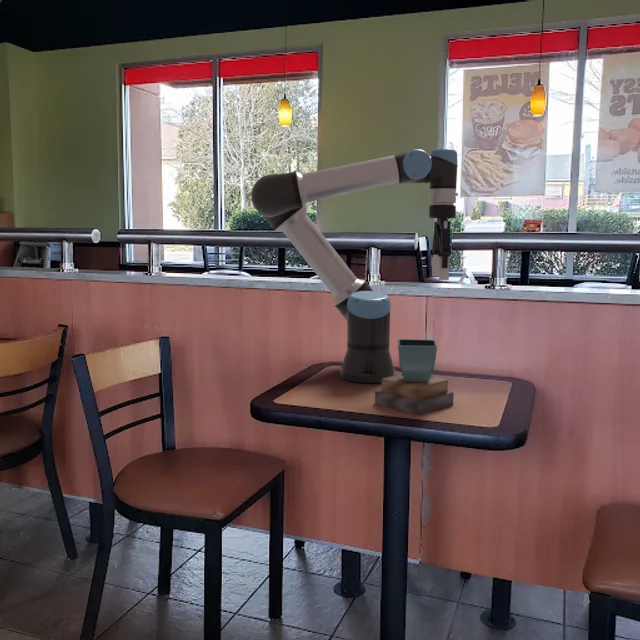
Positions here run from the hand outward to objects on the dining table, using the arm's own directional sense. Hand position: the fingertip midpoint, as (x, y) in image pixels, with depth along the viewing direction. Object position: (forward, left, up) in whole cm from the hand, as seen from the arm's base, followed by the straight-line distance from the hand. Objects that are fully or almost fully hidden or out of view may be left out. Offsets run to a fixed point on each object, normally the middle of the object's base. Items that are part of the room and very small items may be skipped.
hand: (440, 278), depth 190 cm
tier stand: (+21, -37, -27) cm, 50 cm away
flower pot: (+22, -38, -21) cm, 48 cm away
